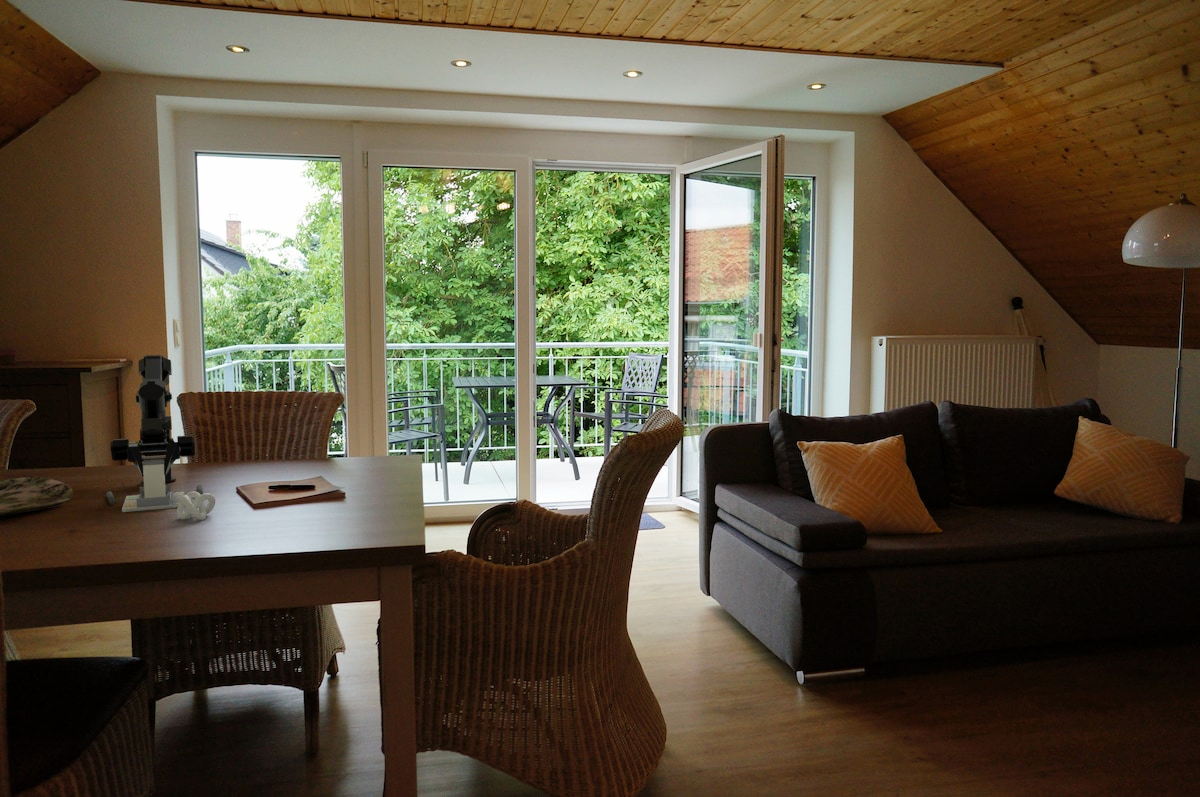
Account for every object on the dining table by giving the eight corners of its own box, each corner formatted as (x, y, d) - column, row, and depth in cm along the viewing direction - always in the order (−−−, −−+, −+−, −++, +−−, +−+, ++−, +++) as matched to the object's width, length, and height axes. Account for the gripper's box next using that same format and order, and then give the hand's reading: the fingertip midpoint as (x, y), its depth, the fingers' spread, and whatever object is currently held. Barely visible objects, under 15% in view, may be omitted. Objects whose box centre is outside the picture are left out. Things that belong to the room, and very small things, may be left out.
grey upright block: (145, 495, 211) (143, 459, 210) (165, 494, 213) (164, 458, 212) (144, 499, 207) (142, 462, 206) (165, 497, 209) (163, 461, 208)
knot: (209, 512, 197) (208, 488, 197) (222, 518, 192) (221, 493, 191) (174, 517, 192) (173, 492, 192) (187, 523, 186) (185, 498, 186)
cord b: (105, 496, 214) (105, 491, 214) (112, 496, 215) (111, 490, 215) (109, 505, 204) (109, 500, 204) (116, 505, 205) (116, 499, 204)
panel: (126, 499, 211) (125, 488, 211) (184, 494, 217) (183, 483, 217) (122, 512, 197) (121, 500, 197) (184, 506, 203) (183, 495, 202)
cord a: (196, 489, 223) (196, 484, 223) (202, 489, 224) (202, 483, 224) (197, 498, 212) (196, 493, 212) (203, 497, 213) (202, 492, 213)
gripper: (109, 407, 208) (107, 458, 199) (192, 404, 216) (195, 453, 207) (113, 434, 216) (111, 485, 207) (193, 431, 224) (196, 479, 215)
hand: (154, 474), depth 209 cm, fingers closed on grey upright block, 4 cm apart
